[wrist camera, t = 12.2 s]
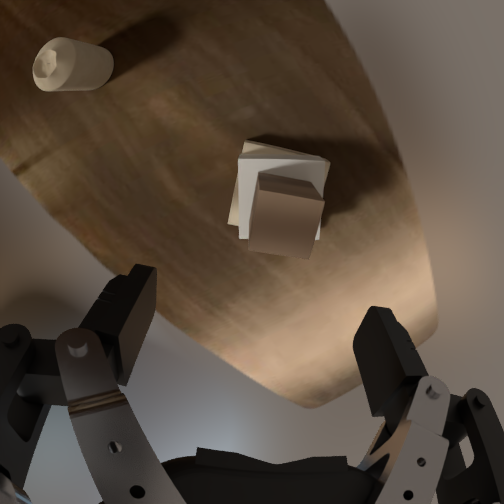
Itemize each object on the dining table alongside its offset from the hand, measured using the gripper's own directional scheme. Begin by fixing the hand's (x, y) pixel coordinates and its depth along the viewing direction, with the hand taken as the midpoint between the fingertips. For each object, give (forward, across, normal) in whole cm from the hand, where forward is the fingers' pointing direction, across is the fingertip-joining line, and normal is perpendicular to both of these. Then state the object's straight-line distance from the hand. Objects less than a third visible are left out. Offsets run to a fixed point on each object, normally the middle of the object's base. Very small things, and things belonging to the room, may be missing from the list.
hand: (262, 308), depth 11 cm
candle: (+25, +21, -9) cm, 34 cm away
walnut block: (+19, -2, +2) cm, 19 cm away
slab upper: (+22, -2, +2) cm, 22 cm away
